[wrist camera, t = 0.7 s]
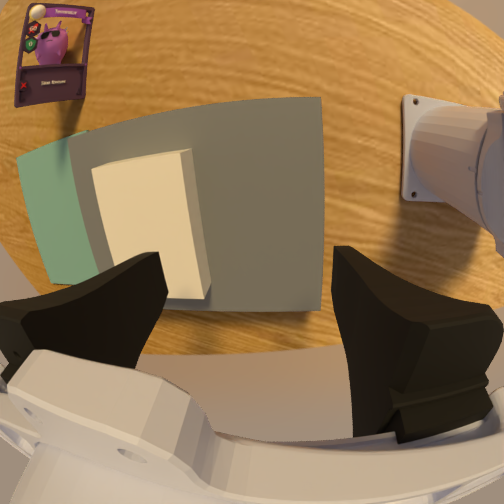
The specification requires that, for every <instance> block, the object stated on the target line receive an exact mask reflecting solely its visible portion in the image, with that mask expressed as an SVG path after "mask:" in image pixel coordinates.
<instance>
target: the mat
mask: <svg viewBox="0 0 504 504" xmlns="http://www.w3.org/2000/svg"><path fill="white" fill-rule="evenodd" d="M86 132H89V131H88V130H86V131H83V132H80V133H77V134H74V135H71V136H68V137H65V138H63V139H60V140H57V141H55V142H52V143H50V144H47V145H45V146H42V147H40V148H37V149H35V150H33V151H30V152H28V153H26V154H24V155H21V156H19V157H17V158H16V159H17V165H18V171H19V176H20V181H21V186H22V191H23V195H24V200H25V204H26V208H27V212H28V215H29V219H30V223H31V226H32V230H33V233H34V236H35V239H36V242H37V246H38V249H39V252H40V254H41V257H42V260H43V263H44V266H45V268H46V271H47V274H48V276H49V279H50V281H51V283H57V284H73V285H76V284H78V283H81V282H83V281H85V280H88V279H90V278H92V277H94V276H96V275H98V274H99V272H98V269H97V266H96V262H95V259H94V256H93V253H92V250H91V246H90V243H89V240H88V236H87V232H86V229H85V225H84V221H83V217H82V213H81V209H80V205H79V201H78V196H77V192H76V187H75V182H74V177H73V172H72V166H71V160H70V154H69V148H68V141H67V139H68V138H71V137H74V136H77V135H80V134H83V133H86Z"/></svg>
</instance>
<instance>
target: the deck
mask: <svg viewBox="0 0 504 504" xmlns="http://www.w3.org/2000/svg"><path fill="white" fill-rule="evenodd" d="M67 141H68V148H69V154H70V160H71V166H72V172H73V177H74V182H75V187H76V192H77V196H78V201H79V205H80V209H81V213H82V217H83V221H84V225H85V229H86V232H87V236H88V240H89V243H90V246H91V250H92V253H93V256H94V259H95V262H96V266H97V269H98V272H99V274H100V273H102V272H104V271H106V270H108V269H110V268H112V267H114V266H115V265H114V262H113V258H112V255H111V252H110V248H109V245H108V241H107V237H106V234H105V230H104V226H103V222H102V218H101V214H100V209H99V205H98V200H97V196H96V191H95V186H94V181H93V176H92V170H91V169H93V168H96V167H98V166H101V165H104V164H107V163H110V162H115V161H120V160H125V159H130V158H135V157H141V156H146V155H152V154H158V153H165V152H171V151H178V150H185V149H192V155H193V163H194V171H195V179H196V186H197V194H198V201H199V208H200V215H201V221H202V228H203V235H204V241H205V247H206V254H207V260H208V266H209V272H210V277H211V284H210V287H209V289H208V291H207V294H206V296H205V298H204V299H181V298H167V299H166V302H165V305H164V307H163V309H172V310H196V311H236V312H287V311H320V310H321V295H322V277H323V253H324V147H323V124H322V107H321V97H289V98H268V99H254V100H242V101H232V102H224V103H216V104H208V105H201V106H195V107H189V108H183V109H177V110H172V111H167V112H162V113H157V114H152V115H148V116H144V117H139V118H135V119H131V120H127V121H123V122H120V123H116V124H112V125H109V126H105V127H102V128H99V129H95V130H92V131H89V132H86V133H83V134H80V135H77V136H74V137H71V138H68V139H67Z"/></svg>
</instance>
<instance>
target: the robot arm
mask: <svg viewBox="0 0 504 504" xmlns="http://www.w3.org/2000/svg"><path fill="white" fill-rule="evenodd" d="M413 99H415V100H416V101H417V104H416V105H414V103H413ZM499 103H500V107H501V109H499V108H486V107H469V106H465V105H461V104H457V103H453V102H448V101H444V100H439V99H434V98H428V97H423V96H417V95H410V94H408V95H404V96H403V98H402V108H403V171H402V190H401V195H402V198H404V199H405V200H407V201H427V202H446V203H448V204H450V205H451V206H453V207H454V208H456V209H457V210H459V211H460V212H461V213H463V214H464V215H466V216H467V217H469V218H470V219H471V220H473V221H474V222H476V223H477V224H478V225H480V226H481V227H483V228H484V229H485V230H487V231H488V232H489V233H490V234H492V235H493V237H494V239H495V243H496V251H497V252H498V253H499V254H500V255H501V256H502V257H503V258H504V92H503V95H501V96H499ZM414 191H415V196H413V197H412V196H411V194H412V192H414ZM168 293H169V291H168V287H167V284H166V280H165V276H164V272H163V268H162V264H161V259H160V255H159V251H158V252H144V253H141V254H139V255H136V256H134V257H132V258H130V259H128V260H126V261H124V262H122V263H120V264H118V265H116V266H114V267H112V268H110V269H108V270H106V271H104V272H102V273H100V274H98V275H96V276H94V277H92V278H90V279H88V280H85V281H83V282H81V283H78V284H76V285H73V286H70V287H68V288H65V289H62V290H58V291H55V292H52V293H49V294H45V295H41V296H37V297H32V298H27V299H21V300H13V301H4V302H1V303H0V350H1V351H2V353H3V355H4V356H5V358H6V359H7V361H8V362H9V364H8V365H7V367H6V368H5V367H4V366H3V365H2V364H1V363H0V437H1V438H3V439H4V440H5V441H6V442H8V443H9V444H10V445H12V446H13V447H14V448H16V449H17V450H18V451H20V452H21V453H22V454H24V455H25V456H27V457H28V458H29V459H30V460H29V462H28V464H27V466H26V468H25V470H24V472H23V474H22V476H21V478H20V480H19V483H18V485H17V487H16V489H15V491H14V493H13V496H12V498H11V500H10V503H9V504H448V503H451V502H453V501H455V500H457V499H460V498H462V497H464V496H466V495H468V494H471V493H473V492H474V491H477V490H479V489H481V488H483V487H485V486H487V485H488V484H490V483H492V482H494V481H496V480H498V479H499V478H501V477H503V476H504V386H503V387H500V388H498V389H496V390H494V391H493V392H492V393H491V394H490V395H488V393H487V391H486V389H485V387H486V386H487V385H488V383H489V380H488V378H487V376H486V374H485V372H486V370H487V368H488V367H489V365H490V363H491V362H492V360H493V358H494V356H495V355H496V353H497V351H498V349H499V347H500V344H501V342H502V337H503V332H504V329H503V323H502V322H501V320H500V319H499V318H498V317H497V315H496V314H495V312H494V311H493V310H492V308H491V307H490V306H489V305H486V304H480V303H474V302H468V301H463V300H458V299H454V298H451V297H447V296H443V295H440V294H437V293H434V292H431V291H429V290H426V289H423V288H421V287H418V286H416V285H413V284H411V283H409V282H407V281H405V280H403V279H401V278H399V277H397V276H395V275H394V274H392V273H390V272H389V271H387V270H385V269H384V268H382V267H380V266H379V265H377V264H376V263H374V262H373V261H371V260H370V259H368V258H367V257H366V256H364V255H363V254H361V253H360V252H358V251H357V250H355V249H354V248H352V247H350V246H334V251H333V270H332V285H331V293H332V301H333V308H334V312H335V316H336V320H337V323H338V327H339V331H340V334H341V338H342V342H343V345H344V349H345V353H346V358H347V363H348V370H349V380H350V389H351V402H352V418H353V419H352V420H353V438H346V439H336V440H323V441H300V442H265V441H259V440H253V439H248V438H243V437H239V436H234V435H229V434H225V433H221V432H216V431H213V430H212V428H211V426H210V423H209V421H208V418H207V416H206V413H205V412H204V411H203V410H202V409H201V407H200V406H199V405H198V404H197V403H196V401H195V400H194V399H193V398H192V397H191V395H190V394H189V393H188V392H186V391H185V390H183V389H181V388H180V387H178V386H176V385H175V384H173V383H171V382H169V381H168V380H166V379H165V378H163V377H159V376H156V375H153V374H149V373H146V372H143V371H140V370H137V369H135V366H136V364H137V361H138V358H139V356H140V353H141V351H142V349H143V347H144V345H145V343H146V341H147V339H148V337H149V335H150V333H151V332H152V330H153V328H154V326H155V324H156V322H157V320H158V318H159V316H160V314H161V312H162V310H163V307H164V305H165V302H166V299H167V296H168Z"/></svg>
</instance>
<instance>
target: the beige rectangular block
mask: <svg viewBox="0 0 504 504" xmlns="http://www.w3.org/2000/svg"><path fill="white" fill-rule="evenodd" d="M91 170H92V176H93V181H94V186H95V191H96V196H97V200H98V205H99V209H100V214H101V218H102V222H103V226H104V230H105V234H106V237H107V241H108V245H109V248H110V252H111V255H112V258H113V262H114V265H115V266H116V265H118V264H120V263H122V262H124V261H126V260H128V259H130V258H132V257H134V256H136V255H139V254H141V253H144V252H158V251H159V255H160V259H161V264H162V268H163V272H164V276H165V280H166V284H167V287H168V291H169V293H168V296H167V298H181V299H204V298H205V296H206V294H207V291H208V289H209V287H210V284H211V277H210V272H209V266H208V260H207V254H206V247H205V241H204V235H203V228H202V221H201V215H200V208H199V201H198V194H197V186H196V179H195V171H194V163H193V155H192V149H185V150H178V151H171V152H165V153H158V154H152V155H146V156H141V157H135V158H130V159H125V160H120V161H115V162H110V163H107V164H104V165H101V166H98V167H96V168H93V169H91Z"/></svg>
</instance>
